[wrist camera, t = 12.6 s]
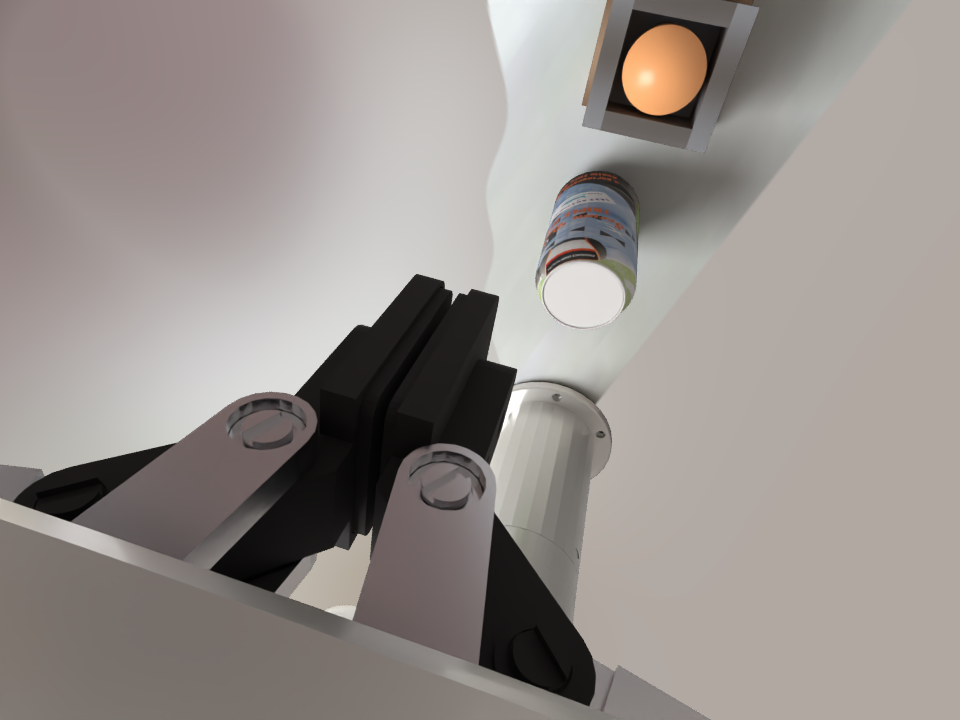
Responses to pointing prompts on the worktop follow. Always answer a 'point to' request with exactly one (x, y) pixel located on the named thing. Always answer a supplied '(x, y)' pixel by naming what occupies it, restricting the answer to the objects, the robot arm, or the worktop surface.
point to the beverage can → (590, 251)
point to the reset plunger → (664, 69)
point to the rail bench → (723, 33)
